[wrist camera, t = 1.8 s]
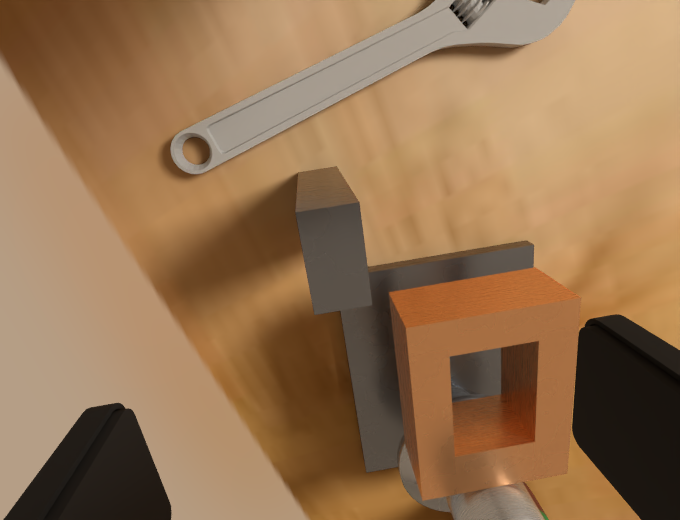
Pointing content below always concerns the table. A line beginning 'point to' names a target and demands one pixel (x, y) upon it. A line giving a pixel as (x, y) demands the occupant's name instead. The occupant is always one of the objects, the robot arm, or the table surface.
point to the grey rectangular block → (332, 241)
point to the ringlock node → (466, 378)
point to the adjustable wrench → (368, 69)
